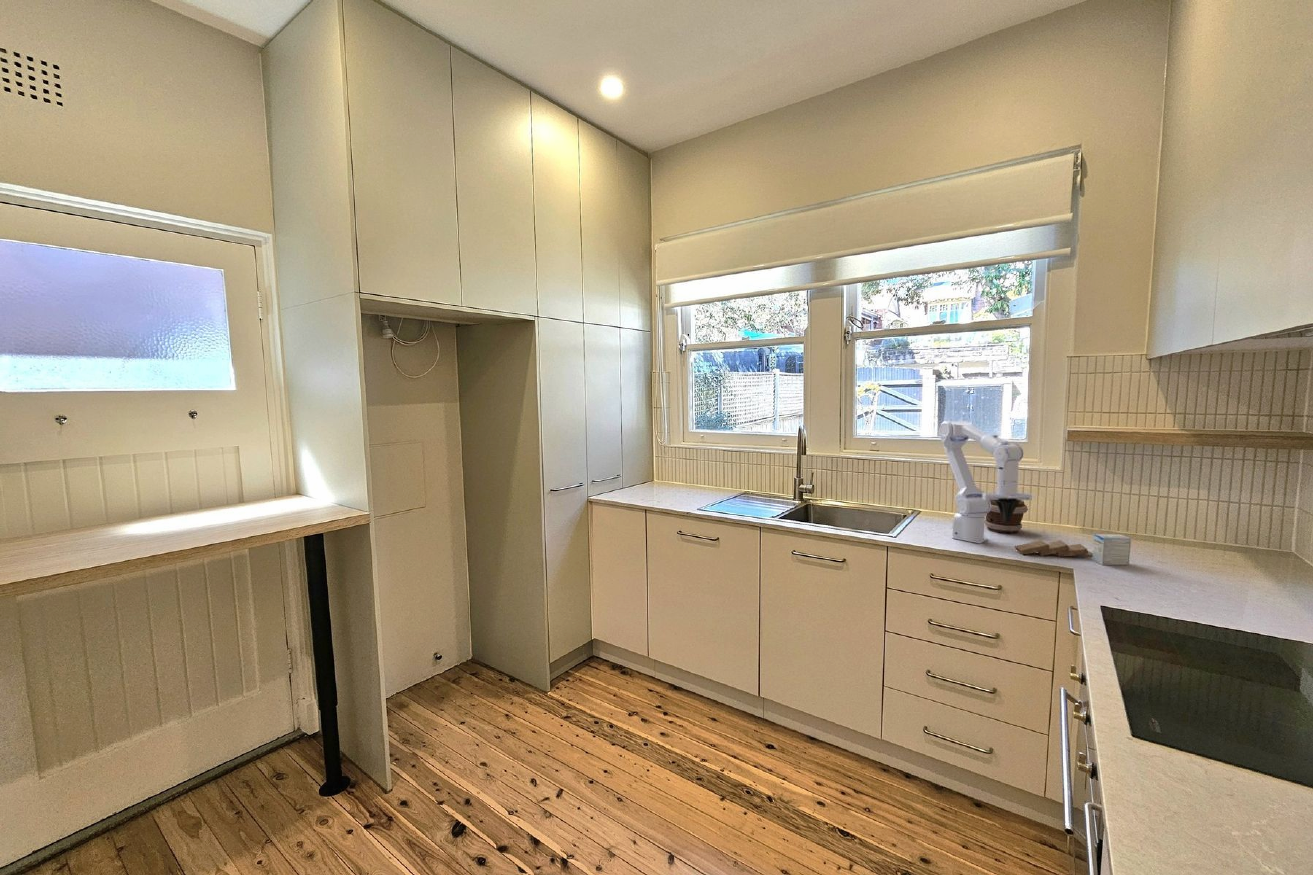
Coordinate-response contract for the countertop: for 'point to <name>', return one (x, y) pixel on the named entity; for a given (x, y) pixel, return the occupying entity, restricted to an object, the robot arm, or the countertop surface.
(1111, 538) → the medicine box
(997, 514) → the flowerpot
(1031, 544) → the domino
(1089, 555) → the domino
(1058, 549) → the domino
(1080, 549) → the domino
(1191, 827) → the countertop surface
